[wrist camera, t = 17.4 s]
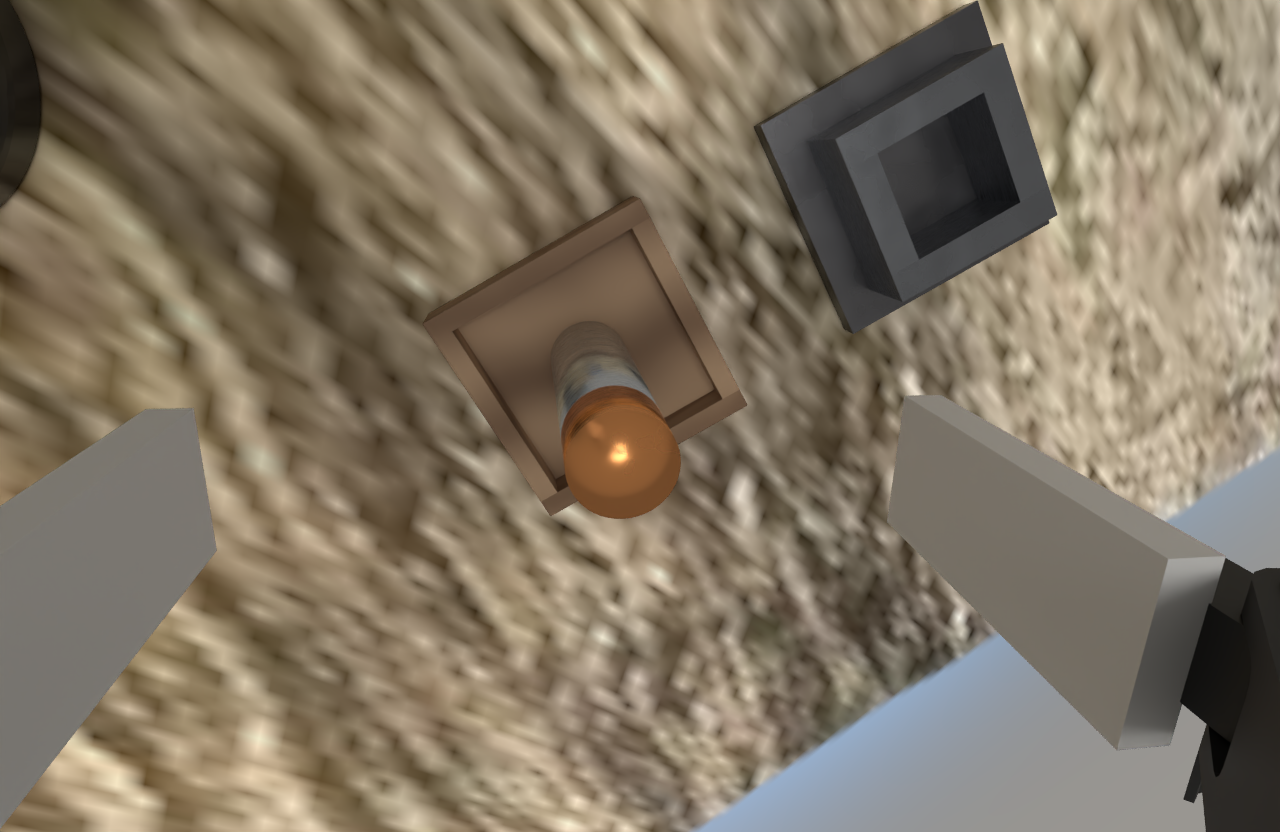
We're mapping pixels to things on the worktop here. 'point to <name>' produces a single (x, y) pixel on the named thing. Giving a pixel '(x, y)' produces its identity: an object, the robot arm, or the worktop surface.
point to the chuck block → (910, 167)
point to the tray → (568, 294)
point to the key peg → (610, 425)
